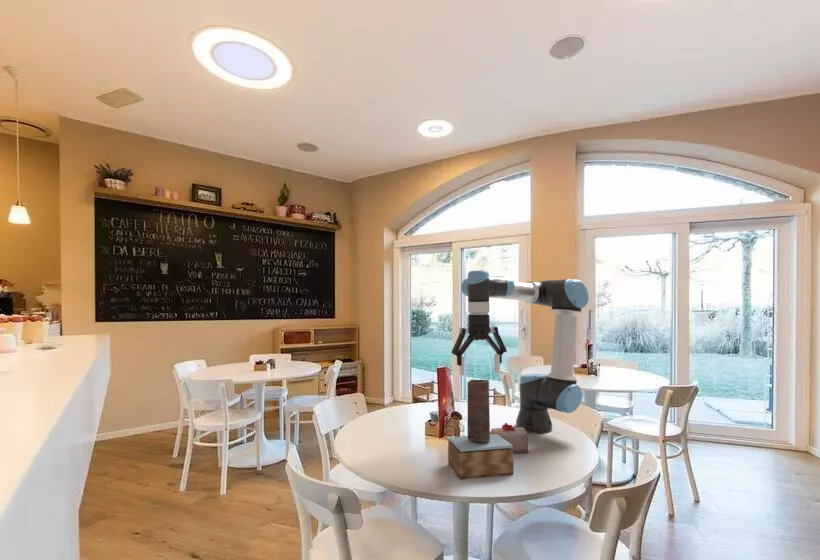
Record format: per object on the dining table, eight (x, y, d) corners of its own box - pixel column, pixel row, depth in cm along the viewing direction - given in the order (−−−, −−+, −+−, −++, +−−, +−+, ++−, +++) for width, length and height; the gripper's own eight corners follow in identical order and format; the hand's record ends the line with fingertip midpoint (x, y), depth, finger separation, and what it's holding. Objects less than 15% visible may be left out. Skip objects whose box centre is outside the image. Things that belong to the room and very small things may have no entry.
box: (497, 460, 143) (497, 436, 144) (513, 474, 132) (513, 449, 132) (448, 464, 139) (448, 440, 140) (460, 479, 128) (460, 453, 128)
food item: (493, 456, 147) (493, 428, 148) (487, 447, 155) (487, 421, 156) (530, 455, 149) (530, 427, 149) (522, 447, 157) (522, 420, 157)
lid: (496, 436, 144) (496, 433, 144) (512, 447, 132) (512, 445, 132) (448, 439, 140) (448, 437, 140) (460, 451, 128) (460, 449, 128)
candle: (484, 446, 131) (484, 382, 132) (463, 442, 135) (463, 380, 136) (493, 440, 137) (492, 379, 138) (472, 436, 141) (472, 377, 142)
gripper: (505, 312, 154) (506, 369, 153) (442, 314, 147) (443, 373, 147) (515, 313, 146) (516, 373, 146) (449, 315, 140) (450, 377, 140)
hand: (479, 373), depth 146 cm, fingers open, 13 cm apart
